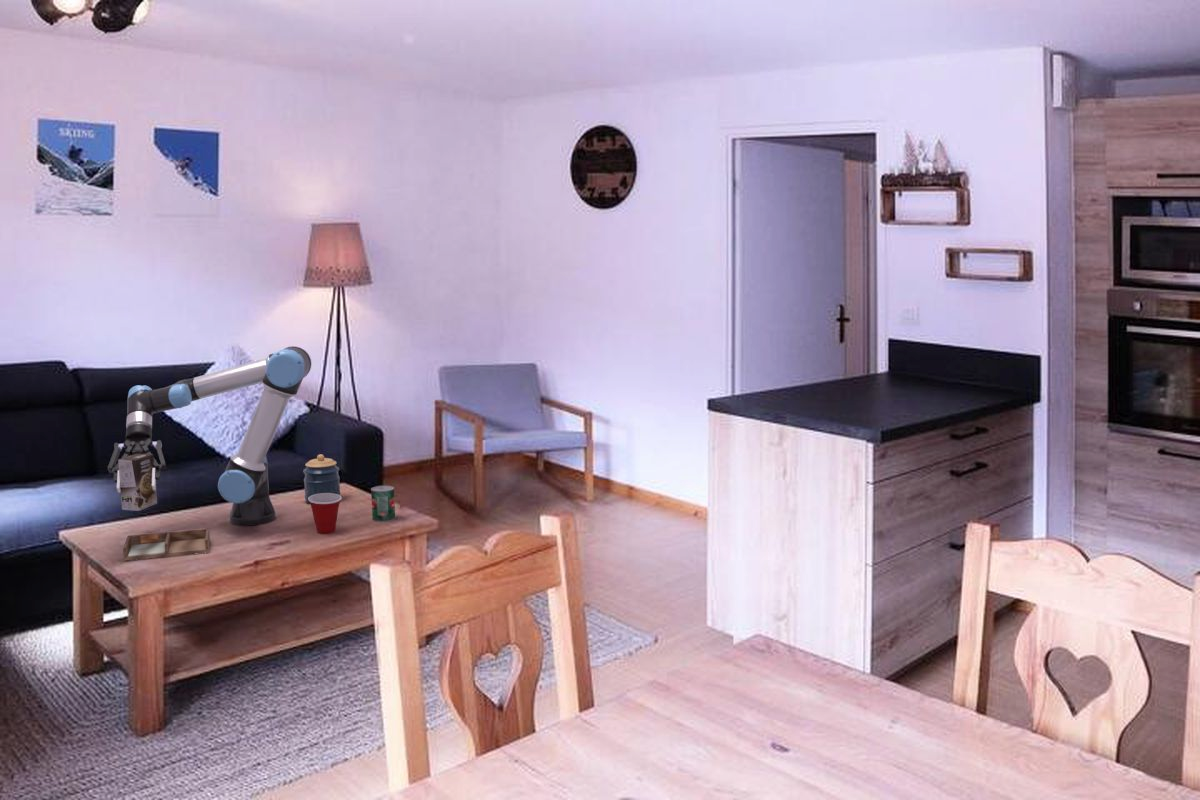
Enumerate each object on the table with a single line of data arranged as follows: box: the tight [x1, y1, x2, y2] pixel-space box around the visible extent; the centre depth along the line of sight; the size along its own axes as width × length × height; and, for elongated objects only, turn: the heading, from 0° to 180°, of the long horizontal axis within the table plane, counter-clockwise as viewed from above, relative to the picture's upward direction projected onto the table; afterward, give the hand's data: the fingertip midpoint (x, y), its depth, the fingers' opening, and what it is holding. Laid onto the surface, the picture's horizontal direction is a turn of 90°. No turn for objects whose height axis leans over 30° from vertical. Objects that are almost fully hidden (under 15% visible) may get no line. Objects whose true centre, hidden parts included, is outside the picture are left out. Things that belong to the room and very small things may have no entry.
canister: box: [302, 453, 342, 505], centre depth 378 cm, size 13×13×18 cm
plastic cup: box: [308, 493, 343, 535], centre depth 337 cm, size 11×11×12 cm
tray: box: [122, 527, 211, 562], centre depth 318 cm, size 24×14×4 cm, turn 109°
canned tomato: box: [370, 485, 396, 523], centre depth 352 cm, size 8×8×11 cm
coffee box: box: [117, 453, 158, 512], centre depth 316 cm, size 9×6×16 cm
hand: (136, 489), depth 313 cm, fingers closed on coffee box, 9 cm apart
